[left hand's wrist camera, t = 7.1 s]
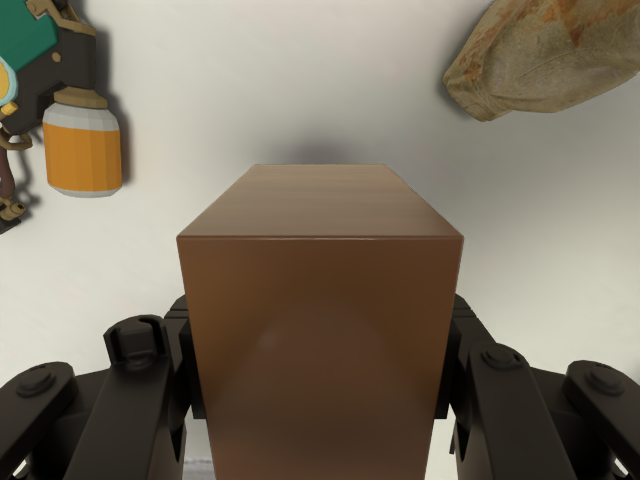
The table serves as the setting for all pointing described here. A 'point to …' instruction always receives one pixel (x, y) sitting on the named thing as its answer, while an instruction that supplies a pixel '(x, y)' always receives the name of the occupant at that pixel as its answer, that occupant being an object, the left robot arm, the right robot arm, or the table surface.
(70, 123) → the spray gun
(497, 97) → the sculpture
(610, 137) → the table surface
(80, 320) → the table surface
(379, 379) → the bar
